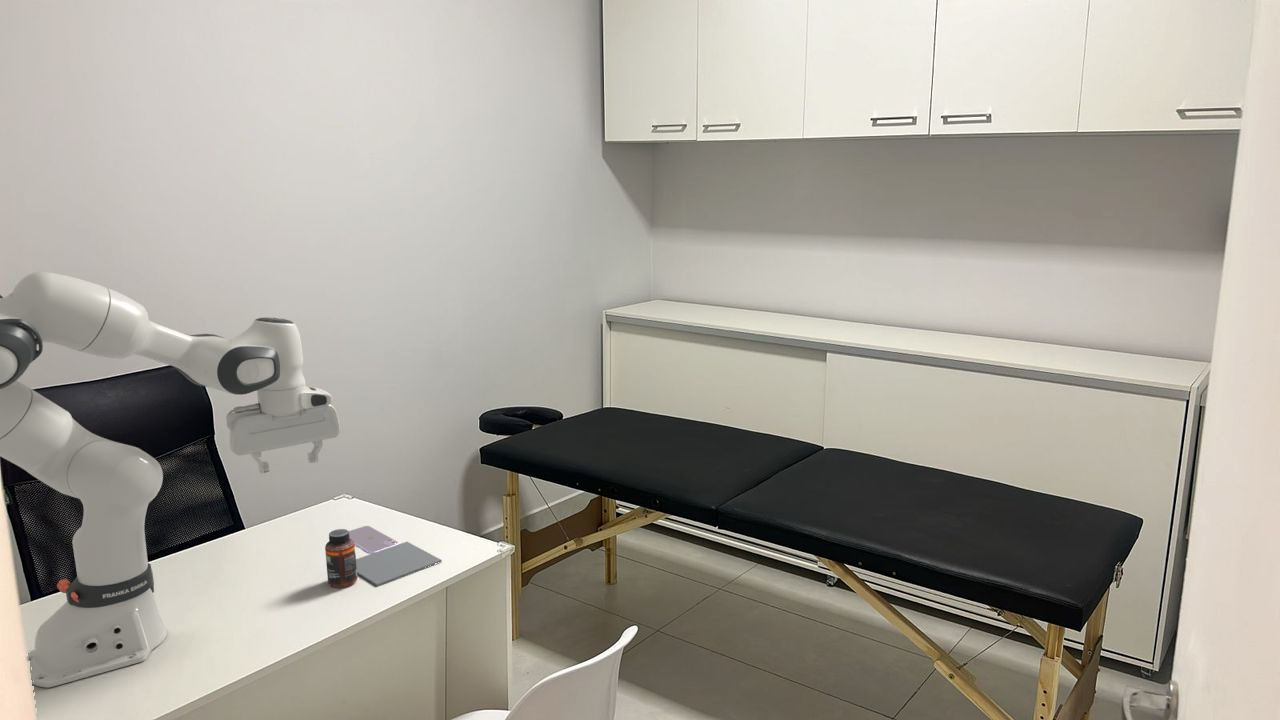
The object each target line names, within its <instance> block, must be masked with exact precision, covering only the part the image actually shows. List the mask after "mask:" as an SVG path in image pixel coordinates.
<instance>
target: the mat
mask: <svg viewBox="0 0 1280 720" xmlns="http://www.w3.org/2000/svg"><path fill="white" fill-rule="evenodd" d="M441 561H442V562H443V560H442V559H440V558H439V557H437V556H435V555H433V554H431V553H429V552H427V551H425V550H424V549H422V548H420V547H418V546H416V545H415V544H413V543H410V542H409V541H405V542H402V543H399V545H396V546H393V547H390V548H387V549H384V550H381V551H378V552H376V553H373V554H370V553H369V554H367V555H364V556H361V557H359V558H356V566H357V576H359V577H362V578H363V579H364V580H366V581H367V582H370V584H372V585H374V586H376V587H380V586H383V585H385V584H388V583H390V582H393V581H396V580H399V579H401V577H402V578H404V577H407V576H409V575H411V573H412V574H414V573H413V572H415V573H417V572H420V571H422V570H421V569H423V570H424V568H425V567H428V566H430V565H433V564H435V563H438V562H441ZM442 562H441V563H442ZM438 564H439V563H438ZM433 566H434V565H433ZM428 568H429V567H428ZM425 569H426V568H425ZM419 570H420V571H419ZM416 571H417V572H416ZM408 574H409V575H408ZM406 575H407V576H406ZM398 578H399V579H398Z"/></svg>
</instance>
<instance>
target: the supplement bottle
mask: <svg viewBox="0 0 1280 720" xmlns="http://www.w3.org/2000/svg"><path fill="white" fill-rule="evenodd" d="M349 531H350V530H349V529H345V528H338V529H334V530H332V531H330V532H329V533H328V542H326V544H325V546H324V549H325V560H326V561H325V562H326V573H327V583H328V585H329V586H331V588H332V587H333V588H339V589H340V588H347V587H349V586H352V585H353V584H355V583H356V582H357V580H358V574H357V566H356V559H357V556H356V545H355V544H354V541H353V540H352V539H350V538H349Z"/></svg>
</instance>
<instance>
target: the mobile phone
mask: <svg viewBox="0 0 1280 720" xmlns="http://www.w3.org/2000/svg"><path fill="white" fill-rule="evenodd" d="M348 531H349V538H350V539H352V540H353V541H354V544H355V547H358V548H359V549H361V550H363V551H364V552H366V553H368V554H369V555H370V554H373V553H376V552H378V551H381V550H384V549H387V548H390V547H393V546H396V545H399V544H400V543H399V541H397V540H395V539H394V538H391V537H390V536H388V535H386V534H384V533H383V532H380V531H379V530H377V529H375V528H373V527H371V525H370V526H369V525H365V526H361V527H358V528H355V529H354V528H353V529H351V530H348Z"/></svg>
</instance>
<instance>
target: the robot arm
mask: <svg viewBox="0 0 1280 720" xmlns="http://www.w3.org/2000/svg"><path fill="white" fill-rule="evenodd" d="M43 343H52V344H54V345H59V346H62V347H66V348H69V349H71V350H75V351H78V352H81V353H85V354H88V355H93V356H96V357H97V356H99V357H102V358H110V359H119V360H122V359H126V358H128V357H131V356H132V355H135V356H140V357H144V358H147V359H150V360H153V361H156V362H159V363H163V364H165V365H168V366H170V367H173V368H174V369H176V370H177V371H178V372H180V374H181V375H183V376H184V378H185V379H187V380H188V381H189V382H190V383H193V384H195V385H197V386H201V387H207V388H211V389H214V390H216V391H221V392H224V393H227V394H230V395H235V396H236V395H237V396H238V395H247V394H250V393H253V392H255V391H257V392H256V393H257V394H256V395H257V402H258V403H253V404H248V405H243V406H236V407H234V408H233V409H232V410H230V411H229V412H228V413H227V415H226V419H225V420H226V426H227V428H228V430H229V448H230V450H231V452H232V453H234V454H235V455H236V456H238V457H239V456H240V457H241V456H245V455H251V457H252V458H253V459H254V460H255V462H256V463H257V465H258V471H259V473H260V474H265V473H269V472H270V465H269V463H268V462H267V461H262V460H261V459H260V458H262V452H267V451H272V450H277V449H281V448H282V449H284V448H287V447H293V446H298V445H303V444H309V443H312V444H313V448H312V450H311V452H308V453H307V457H308V458H307V460H308V463H310V464H314V463H318V462H319V453H320V452H321V450H322V448H323V445H324V442H323V440H329V439H335V438H337V437H338V436H339V434H340V432H341V427H340V426H341V425H340V420H339V416H338V411H337V410H336V408H335V406H333V405H332V403H333V395H331V394H330V392H328V391H327V390H324V389H322V388H320V387H313V386H307V384H306V383H307V382H306V378H305V376H304V373H303V366H304V352H303V350H304V349H303V346H302V345H303V344H302V339H301V334H300V331H299V329H298V326H297V324H296V323H294V322H293V321H292V320H288V319H284V318H277V317H259V318H255V319H254V321H253V322H252V324H251V325H250V326H249V327H248V328H247V329H246V330H244V331H243V332H242V333H241V334H239V335H237V336H236V337H234V338H232V339H228V338H226V337H223V336H219V335H218V334H214V333H201V334H200V333H198V334H186V333H184V332H183V333H182V332H180V331H177V330H174V329H172V328H170V327H166V326H163V325H161V324H159V323H155V322H154V321H152V320H150V318H149V314H148V311H147V309H146V307H145V306H143V305H142V304H141V303H139V302H137V301H136V300H134V299H132V298H131V297H128V296H127V295H125V294H123V293H121V292H118V291H116V290H114V289H111V288H109V287H106V286H103V285H101V284H97V283H96V282H93V281H92V282H91V281H88V280H84V279H82V278H78V277H75V276H70V275H65V274H61V273H55V272H49V271H36V272H32V273H30V274H28V275H26V276H24V277H23V278H22V279H20V281H18V283H17V284H16V285H15V286H14V288H13V290H12V292H11V293H9V294H8V295H7V296H4V297H3V296H2V295H1V294H0V457H1V458H3V459H4V460H6V461H8V462H10V463H12V464H14V465H16V466H18V467H19V468H21V469H22V470H24V471H26V472H27V473H28V474H29V475H31V476H32V477H34V478H36V479H37V480H39V481H40V482H42V483H44V484H45V485H46V486H49V488H52V489H54V490H55V491H57V492H59V493H61V494H63V495H65V496H69V497H73V498H75V499H78V500H80V503H82V507H83V516H82V522H81V526H80V527H79V528H78V529H77V530H76V532H74V535H73V537H72V542H71V543H72V549H73V556H74V562H75V569H76V575H77V576H76V578H75V579H74V580H73V581H72V582H71V581H70V580H68V579H67V578H64V579H60V580H59V581H58V583H57V584H56V587H57V589H58V590H59V591H60V593H62V594H65V595H66V597H65V598H66V602H65V603H64V604H63V605H61V606H60V607H59V608H58V609H57V610H56V611H55V612H54V613H53V614H52V615H51V616H50V617H48V619H46V620H45V621H44V622H43V623H42V624H41V625H39V628H38V629H37V632H36V635H35V642H34V649H32V650H31V651H28V652H27V653H28V655H29V660H30V673H31V680H32V683H31V684H32V685H34V686H36V687H40V688H41V687H42V688H53V687H56V686H57V687H58V686H60V685H64V684H67V683H70V682H75V681H78V680H81V679H85V678H89V677H92V676H96V675H99V674H102V673H106V672H109V671H113V670H117V669H120V668H124V667H127V666H131V665H135V664H137V663H138V664H139V663H141V662H143V661H145V660H147V659H148V657H149V656H150V654H151V652H152V651H153V650H154V649H155V648H157V647H158V646H160V644H162V642H163V641H164V640H165V639H166V637H167V634H168V630H167V628H166V627H165V624H164V622H163V621H162V618H161V616H160V614H159V613H160V612H159V610H158V607H157V603H156V600H155V594H154V593H155V587H154V586H155V580H154V574H153V569H152V565H151V563H149V560H148V551H147V542H146V533H145V522H146V515H147V510H148V507H149V504H150V503H151V502H152V501H153V499H155V498H156V497H157V495H158V493H159V492H160V490H161V488H162V486H163V480H164V472H163V469H162V466H161V464H160V462H158V460H156V458H154V457H153V456H152V455H150V454H149V453H147V452H146V451H144V450H142V449H141V448H140V447H138V446H137V447H136V446H133V445H129V444H125V443H121V442H119V441H114V440H111V439H108V438H104V437H102V436H99V435H97V434H95V433H92V432H91V431H90V430H88V429H86V428H85V427H84V426H82V425H81V424H80V423H79V422H78V421H76V420H75V419H74V418H73V417H72V414H71V413H70V412H69V411H68V410H66V409H64V408H63V407H61V406H59V405H58V404H56V403H55V402H53V401H51V400H50V399H48V398H46V397H45V396H44V395H42V394H41V393H39V392H37V391H35V390H33V389H32V388H30V387H29V386H27V385H26V384H24V383H22V382H21V381H19V380H18V379H20V377H22V375H23V374H24V373H25V372H26V371H27V369H28V368H29V366H30V364H31V363H33V362H34V361H35V360H36V359H37V358H38V357H40V356H41V354H42V353H43V349H44V348H43V347H44V345H43ZM29 652H30V653H29ZM31 667H32V670H31ZM33 681H34V682H33Z"/></svg>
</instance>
